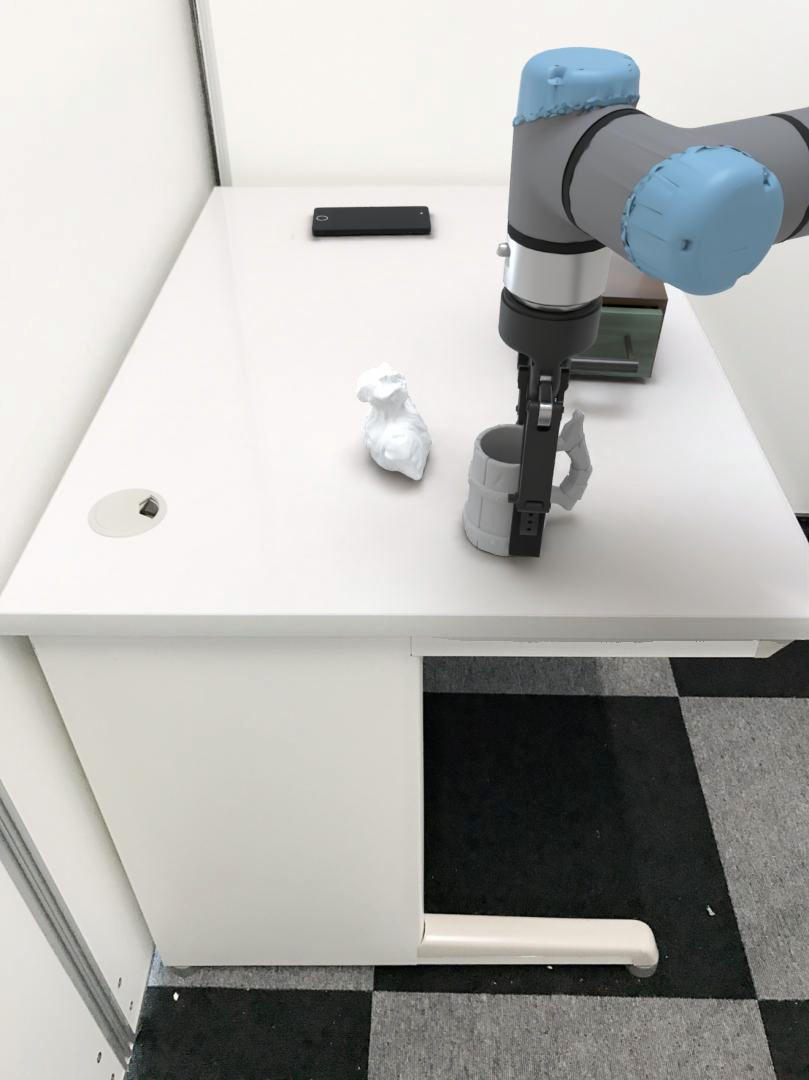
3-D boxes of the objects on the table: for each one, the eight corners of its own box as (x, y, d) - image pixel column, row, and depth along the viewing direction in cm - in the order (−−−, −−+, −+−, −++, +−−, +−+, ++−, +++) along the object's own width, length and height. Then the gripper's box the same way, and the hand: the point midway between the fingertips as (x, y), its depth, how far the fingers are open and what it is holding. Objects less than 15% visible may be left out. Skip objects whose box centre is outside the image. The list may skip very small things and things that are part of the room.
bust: (389, 440, 93) (321, 373, 87) (445, 401, 91) (378, 329, 84) (400, 511, 84) (325, 442, 78) (462, 470, 82) (389, 395, 75)
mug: (450, 512, 81) (455, 406, 73) (564, 490, 83) (581, 385, 75) (477, 566, 75) (486, 458, 67) (599, 540, 78) (621, 433, 70)
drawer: (655, 411, 92) (671, 346, 86) (538, 404, 93) (546, 340, 87) (635, 316, 107) (647, 256, 102) (535, 312, 108) (542, 252, 103)
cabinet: (650, 377, 99) (668, 299, 92) (531, 371, 100) (540, 293, 93) (636, 312, 110) (651, 239, 104) (529, 308, 111) (537, 234, 105)
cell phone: (314, 213, 134) (314, 207, 134) (428, 211, 135) (428, 205, 134) (311, 236, 128) (311, 229, 127) (431, 234, 128) (431, 228, 128)
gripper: (503, 232, 71) (485, 454, 86) (499, 357, 55) (479, 600, 71) (594, 235, 70) (560, 458, 85) (616, 363, 55) (569, 606, 70)
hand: (523, 522), depth 78 cm, fingers closed on mug, 8 cm apart
